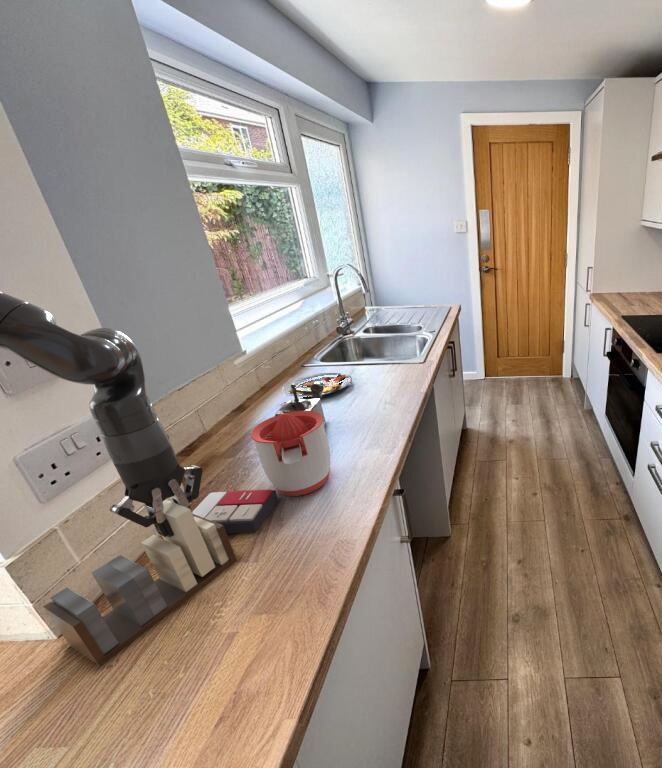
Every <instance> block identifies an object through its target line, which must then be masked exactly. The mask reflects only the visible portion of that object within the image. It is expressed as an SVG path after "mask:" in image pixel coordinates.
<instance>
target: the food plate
mask: <svg viewBox="0 0 662 768" xmlns="http://www.w3.org/2000/svg"><path fill="white" fill-rule="evenodd" d="M324 375H338V376H337V377H322V378H320V379H319V378H318V379H315V380H311V381H308V382H305V383H303V384H300V385H302V386H300V385H299V386H298V387H296V389H298V390H301V389H302V388H308V389H307V390H308V391H311V390H309V389H310V385H311V384H312V383H315V382H319V383H322V384H323V382H324V381H326V383H327V382H330V381H329V380H331V379H334V380H333V381H335V382H334V383H338V382H340V381H342V380H344V379H345V378H348V379H349V380H348V379H347V382H345V383H346V384H345V383H344V385H343V386H341V385H342V383H343V382H341V383H339V384H334V385H333V382H332V381H331V382H332V383H330V384H331V385H332V386H330V387H329V386H325V385H329V384H328V383H327V384H326V383H325V384H323V386H324V390H323V391H322V392H321V395H322V396H326V395H330V394H333V393H337V392H339V391H341V390H343V389H344V388H346V387H347V386H349V385H350V384H352V382H353V379H352V376H351V375H348V374H346V373H342V372H320V373H314V374H309V375H305V376H301V377H298V378H295V379H293V380H290V381H289V382H287V383H286V384H285V385H283V386H282V388H281V393H282V394H283V395H285V396H289V397H294V394H293V391H291V389H292V388H291V385H292V384H295V385H298V384H299V383H301V382H304V381H307V380H306V379H308V380H309V379H310V378H311V379H312V378H314V377H318V376H324ZM306 383H307V384H306ZM303 386H307V387H303ZM300 388H301V389H300ZM289 392H290V393H289ZM296 393H297V397H298V398H300V397H304V398H305V397H312V394H306V393H298V392H296ZM322 393H324V394H322ZM299 394H302V395H299Z"/></svg>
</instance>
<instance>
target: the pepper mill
mask: <svg viewBox="0 0 662 768" xmlns="http://www.w3.org/2000/svg"><path fill="white" fill-rule="evenodd" d="M295 387H296V385H295V384H292V385H291V388H292V389H291V391H293V394H294V396H293V397H294V399H291V400H290V399H289V400H287V401H286V402H285V403H284V404H283V405H281V407H280V408H279V409H278V410H277V411H276V412H275V413H274V416H277V415H280V414H284V413H288V412H293V411H315V412H318V413H320V414H321V415H322V416H323V424H324V428H326V424H327V422H326V418H325V417H326V416H325V414H324V409H323V405H322V400H321V398H322V397H323V395H321V392H322V391H323V390H324V386H323V384H322V383H319V382H315V383H312V384H311V385H310V390H311V391H305V390H298V389H296V388H295ZM296 392H298V393H306V394H312V396H311V398H307V399H306V398H299V396H297V393H296ZM324 422H325V423H324Z"/></svg>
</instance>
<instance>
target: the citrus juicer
mask: <svg viewBox="0 0 662 768" xmlns="http://www.w3.org/2000/svg"><path fill="white" fill-rule="evenodd" d="M325 428H326V427H325ZM325 428H324V424H323V416H322V415H321V414H320V413H318V412H315V411H293V412H288V413H284V414H280V415H277V416H275V415H274V416H272V417H269V418H267V419H264V420H263V421H261V422H259V423H258V424H257V425H255V426H254V427H253V428H252V430H251V432H250V438H251V439H252V440H253V444H254V446H255V449H256V452H257V454H258V455H257V456H258V458H259V461H260V464H261V467H262V469H263V472H264V474H265V475H266V477H267V479H268V481H269V482H270V483H271V485H272V486H273V488H274V490H276V491H278V493H280V494H281V495H283V496H285V497H300V496H303V495H307V494H310V493H313V492H315V491H316V490H318V489H320V488H321V487H322V486H324V485H325V484H326V483H327V482H328V479H329V477H330V472H331V449H330V445H329V441H328V437H327V432H326V429H325Z"/></svg>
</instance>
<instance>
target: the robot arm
mask: <svg viewBox="0 0 662 768" xmlns="http://www.w3.org/2000/svg"><path fill="white" fill-rule="evenodd" d="M0 349H1V350H4V351H9V352H11V353H12V354H14V355H15V356H17V357H19V358H21V359H23V360H24V361H26V362H27V363H30V364H31V365H33V366H35V367H37V368H39V369H41V370H43V371H44V372H46V373H49V374H50V375H52V376H54V377H57V378H59V379H62V380H64V381H67V382H71V383H76V384H80V385H87V386H88V385H89V386H90V385H91V386H92V387H93V394H92V397H91V399H90V401H89V404H88V406H89V407H88V409H89V412H90V414H91V417H92V418H93V420H94V423H95V425H96V426H97V428H98V431H99V433H100V434H101V437H102V440H103V444H104V447H105V449H106V451H107V453H108V456H109V458H110V459H111V461H112V463H113V466H114V467H115V469H116V471H117V474H118V476H119V477H120V480H121V481H122V484H123V485H124V487H125V490H124V497H123V498H122V499H121V501H120V502H119V503H118V504H117V503H115V504H112V505H111V506H110V507H109V511H110V512H111V513H113V514H116V515H117V516H120V517H122V518H123V519H126V520H129V521H131V522H132V523H135V524H137V525H139V526H142V527H144V528H149V527H151V526H152V525H153V527H154V528H155V530H156V532H157V534H158V535H159V536H161V537H162V536H164V537H166V536H167V537H169V538H170V537H172V536H173V535H174V533H173V531H172V528H171V526H170V524H169V522H168V520H167V519H165V515H164V512H163V509H164V505H163V501H164V500H168V499H169V498H170V501H171V502H173V503H176V504H178V505H181V506H184V507H186V508H189V509H190V510H191V512H192V511H193V510H192V509H191V507H190V504H191V502H193V501H194V500H197V499H198V498H199V496H200V489H201V483H202V478H203V468H202V467H200V466H197V465H193V464H190V465H189V466H187V467H184V466H182V465H181V464H180V463H179V459H178V457H177V455H176V452H175V450H174V447H173V445H172V442H171V439H170V436H169V434H168V433H167V431H166V429H165V427H164V425H163V424H162V422H161V421H160V419H159V418H158V415H157V413H156V410H155V408H154V406H153V403H152V401H151V399H150V396H149V395H148V391H147V382H146V375H145V371H144V366H143V361H142V357H141V354H140V352H139V349H138V347H137V346H136V344H135V343H134V342H133V340H132V338H130V337H129V336H128V335H126V334H125V333H124V332H121V331H119V330H116V329H113V328H108V327H99V328H98V327H97V328H94V329H90V330H88V331H86V332H85V331H84V332H83V333H81V334H77V333H74V332H73V331H70V330H67V329H66V328H64V327H61V326H59V325H58V324H57V320H56V318H55V316H54V315H53V314H52V313H51V312H49V311H48V310H46V309H44V308H42V307H40V306H37V305H35V304H33V303H30V302H27V301H24V300H22V299H19V298H17V297H15V296H12V295H9V294H8V293H4V292H2V291H0ZM184 478H185V481H184V488H183V489H182V488H181V486H182V483H183V480H184ZM133 502H137V503H142V504H143V507H144V509H145V510H146V513H147V515H145V516H143V515H141V514H139V513H137V512H134V511H135V505H134V504H133ZM192 514H193V513H192ZM193 517H194V515H193Z"/></svg>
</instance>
